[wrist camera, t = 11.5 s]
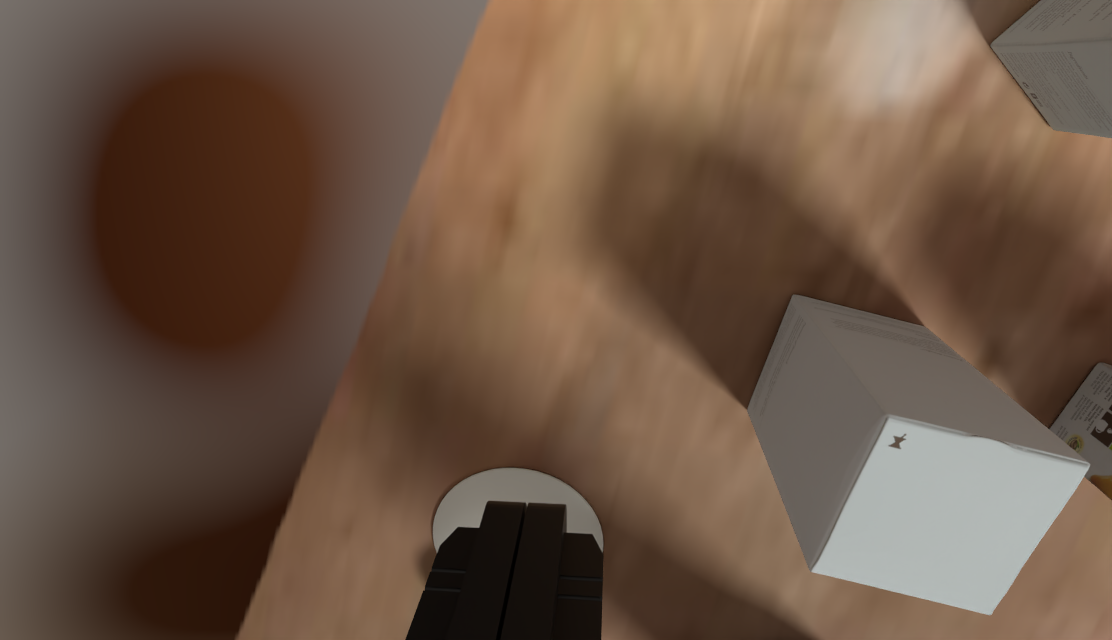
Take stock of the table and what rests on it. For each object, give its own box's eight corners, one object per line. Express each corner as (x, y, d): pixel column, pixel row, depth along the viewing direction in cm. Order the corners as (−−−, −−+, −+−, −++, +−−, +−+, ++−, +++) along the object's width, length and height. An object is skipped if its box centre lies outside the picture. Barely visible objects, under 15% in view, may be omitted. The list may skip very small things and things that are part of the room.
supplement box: (741, 412, 43) (801, 576, 29) (790, 290, 40) (884, 410, 26) (871, 445, 43) (993, 624, 29) (932, 326, 40) (1101, 465, 26)
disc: (605, 471, 46) (605, 473, 46) (601, 610, 51) (601, 612, 50) (427, 463, 47) (426, 464, 47) (439, 600, 52) (439, 602, 51)
